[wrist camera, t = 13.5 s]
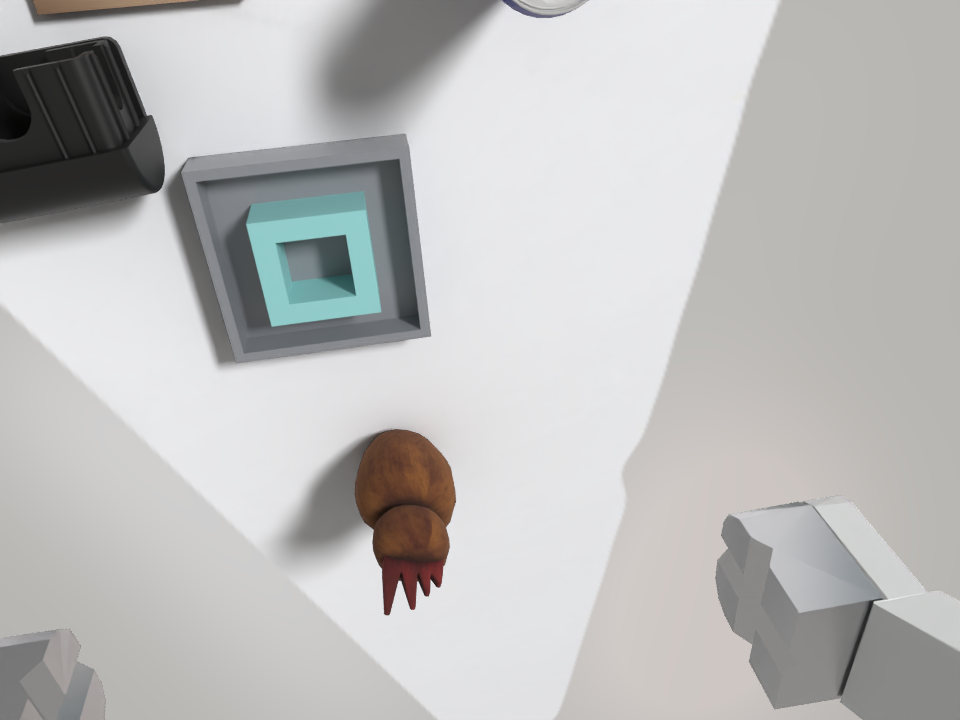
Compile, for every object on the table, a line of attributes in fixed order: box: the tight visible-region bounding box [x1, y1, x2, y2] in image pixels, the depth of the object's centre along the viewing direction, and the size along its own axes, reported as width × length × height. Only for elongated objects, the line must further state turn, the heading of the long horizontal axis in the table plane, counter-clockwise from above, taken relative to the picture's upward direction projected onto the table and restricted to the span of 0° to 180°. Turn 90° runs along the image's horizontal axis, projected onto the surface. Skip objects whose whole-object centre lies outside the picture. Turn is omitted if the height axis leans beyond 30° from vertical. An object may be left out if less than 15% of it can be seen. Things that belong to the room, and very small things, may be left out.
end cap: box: [0, 37, 165, 223], centre depth 37 cm, size 10×7×7 cm
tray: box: [181, 134, 431, 363], centre depth 45 cm, size 12×12×2 cm
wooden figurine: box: [355, 429, 456, 615], centre depth 49 cm, size 7×6×15 cm
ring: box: [246, 191, 381, 327], centre depth 44 cm, size 6×6×3 cm
